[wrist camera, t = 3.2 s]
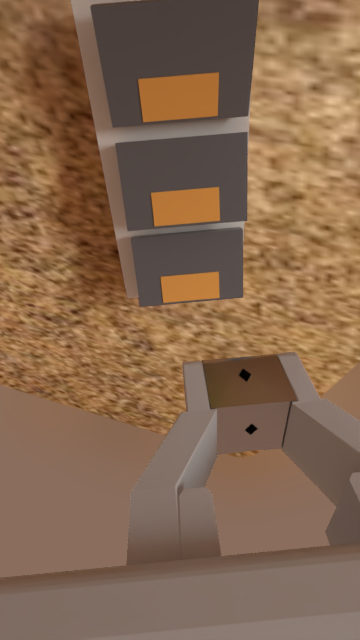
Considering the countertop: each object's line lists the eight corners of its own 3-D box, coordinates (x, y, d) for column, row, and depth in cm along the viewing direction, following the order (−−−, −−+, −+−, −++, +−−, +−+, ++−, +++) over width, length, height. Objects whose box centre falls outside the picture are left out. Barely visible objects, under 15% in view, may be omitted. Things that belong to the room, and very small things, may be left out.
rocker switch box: (82, 10, 23) (70, 0, 20) (241, -3, 23) (255, -15, 20) (129, 278, 36) (127, 298, 32) (233, 268, 36) (240, 288, 32)
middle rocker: (116, 143, 24) (114, 142, 23) (244, 133, 24) (247, 131, 23) (128, 229, 27) (127, 231, 26) (244, 219, 27) (247, 221, 26)
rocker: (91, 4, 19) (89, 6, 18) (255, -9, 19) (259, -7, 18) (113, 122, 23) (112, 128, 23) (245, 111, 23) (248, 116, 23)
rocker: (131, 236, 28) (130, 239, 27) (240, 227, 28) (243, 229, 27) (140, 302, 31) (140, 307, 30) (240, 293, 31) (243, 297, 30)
